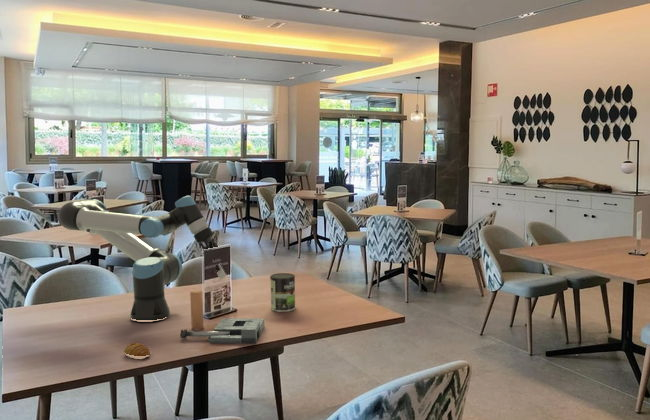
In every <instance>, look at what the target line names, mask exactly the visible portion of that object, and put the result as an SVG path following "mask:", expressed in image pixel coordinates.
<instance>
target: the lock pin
mask: <svg viewBox="0 0 650 420" xmlns="http://www.w3.org/2000/svg"><path fill="white" fill-rule="evenodd" d="M212 335H230V332H214V330H213V331H211V330H210V331H205V330H203V331H202V330H201V331H200V330H191V331H188V330H187V329H181V330H180V335H179V336H180V338H181V339H187V338H188V337H189V338H190V337H191V338H192V337H193V338H195V337H196V338H197V337H199V338H200V337H202V338H203V337H204V338H205V337H206V338H208V337H211V336H212ZM186 337H187V338H186Z"/></svg>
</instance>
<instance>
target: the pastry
mask: <svg viewBox="0 0 650 420" xmlns="http://www.w3.org/2000/svg"><path fill="white" fill-rule="evenodd" d="M124 352H125V353H126V354H129V355H134V356H146V355H150V356H151V354H150V353H151V351H150V349H149V348H148V347H147V346H146V345H145V344H143V343H137V342H130V343H129V344H128V345H126V347H125V348H124V350H123V353H124Z"/></svg>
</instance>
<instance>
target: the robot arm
mask: <svg viewBox="0 0 650 420" xmlns="http://www.w3.org/2000/svg"><path fill="white" fill-rule="evenodd" d="M174 206H175V208H174V209H172V210H171V211H169V212H167V213H164V214H162V215H158V216H148V215H147V216H146V215H141V214H140V215H138V214H129V213H120V212H119V213H118V212H111V211H110V212H109V211H108V210H107V206H106V204H105V203H103V202H102V201H101V200H99V199H95V198H86V199H83V200H76V201H69V202H67V203H65V204H64V205H62V206H61V207H60V209H59V211H58V214H57V217H58V218H57V219H58V222H59V224H60V225H61V227H63V228H64V229H67V230H70V231H79V232H82V231H83V232H84V231H86V232H88V233H89V234H91V235H98V236H99V237H101V238H103V239H104V240H105V241H106V242H107V243H109V244H110V245H112V246H114V247H115V248H116V249H118V250H119V251H120V252H122V253H123V254H124V255H126V256H128V257H129V258H130V259H131V260H133V261H134V263H133V265H132V272H131V273H132V284H133V298H134V299H133V304H132V307H131V311H130V319H131V318H132V319H136V320H157V319H163V318H165V317H168V316H169V315H170V316H171V311H170V307H169V306H168V302H167V300H166V297H165V286H167V285H168V284H171V283H173V282H175V281H176V280H177V279H178V278H179V277H180V276H181V275H182V272H183V265H182V263H183V262H182V261H181V258H179V257H178V255H176V254H175V253H169V252H168V253H166V252H165V251H163V250H162V249H161V248H159V247H158V248H153V247H151V246H150V245H149V244H147V243H146V242H145V241H143V240H142V239H140V237H138V236H137V235H142V236H144V237H146V238H148V239H152V238H157V237H159V236H161V235H162V236H164V237H165V236H167V235H170V234H172V233H173V232H174V231H176V230H177V229H179V228H181V227H182V226H183V225H186V226H187V227H188V230H189V231H190V233H191V235H193V239H194V240H195V241H196V243H197V244H200V247H202V250H203V251H204V249H208V248H213V247H218V246H219V245H218V243H217V242H216V241H215V239H214V238H211V237H213V236H214V233H213V231H212V229H211V227H209V224H208V222H207V221H208V219H206V218H205V217H204V215H203V214H202V211H201V210H200V208H199V206H198V205H197V203H196V201H195V200H194V198H193V197H192V196H191V195H186V196H183V197H181V198H179V199H178V200H176V201H175V202H174ZM214 261H215V260H214ZM216 267H217V268H216V271H218V272H217V273H216V275H217V277H218V278H219V280H222V279H224V278H225V277H227V273H226V272H225V270H224V268H223V266H222V265H221V263H219V266H218V265H216ZM230 269H231V273H233V272H234V270H233V269H232V267H231V266H230ZM216 271H215V272H216ZM170 316H169V317H170ZM169 317H168V318H169Z"/></svg>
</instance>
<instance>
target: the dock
mask: <svg viewBox="0 0 650 420" xmlns="http://www.w3.org/2000/svg"><path fill="white" fill-rule="evenodd" d="M264 329H265V318H228V317H227V318H223V317H222V318H221V320H220V321H219V322H218V323H217V325H216V326H215V327H214V329H213V331H214V332H230V335H212V336H211V337H207V339H206V340H207V342H209V343H210V344H257V342H258V339H259V338H260V336H261V335H262V333H263V330H264Z"/></svg>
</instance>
